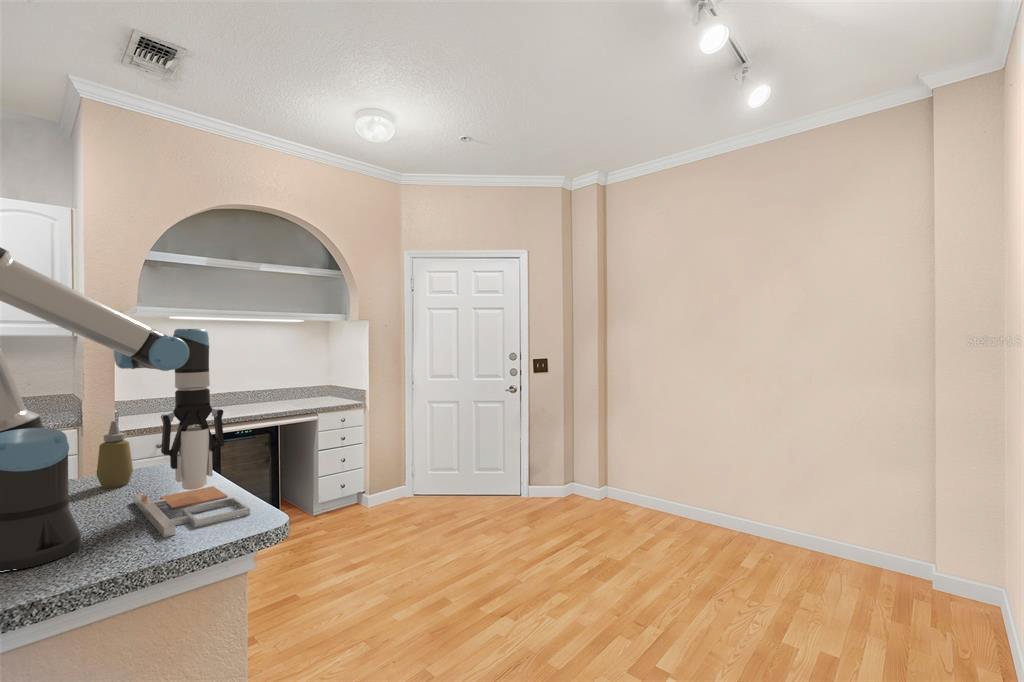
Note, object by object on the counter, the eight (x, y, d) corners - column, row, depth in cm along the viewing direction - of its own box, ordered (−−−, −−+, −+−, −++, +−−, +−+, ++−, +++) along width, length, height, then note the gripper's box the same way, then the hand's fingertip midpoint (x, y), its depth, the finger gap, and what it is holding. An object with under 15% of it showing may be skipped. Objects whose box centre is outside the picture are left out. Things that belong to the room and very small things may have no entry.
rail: (254, 515, 116) (254, 502, 116) (164, 537, 104) (163, 523, 104) (212, 486, 139) (211, 476, 139) (133, 502, 126) (133, 490, 126)
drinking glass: (207, 489, 128) (206, 430, 127) (175, 492, 125) (175, 432, 125) (212, 482, 134) (211, 426, 134) (182, 485, 131) (181, 427, 131)
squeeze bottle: (138, 483, 142) (137, 420, 142) (103, 491, 135) (102, 424, 135) (126, 479, 146) (124, 418, 146) (91, 487, 139) (90, 422, 139)
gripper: (228, 384, 139) (230, 468, 139) (144, 390, 125) (145, 483, 125) (238, 386, 133) (239, 473, 134) (150, 393, 120) (152, 489, 120)
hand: (194, 477), depth 129 cm, fingers closed on drinking glass, 6 cm apart
